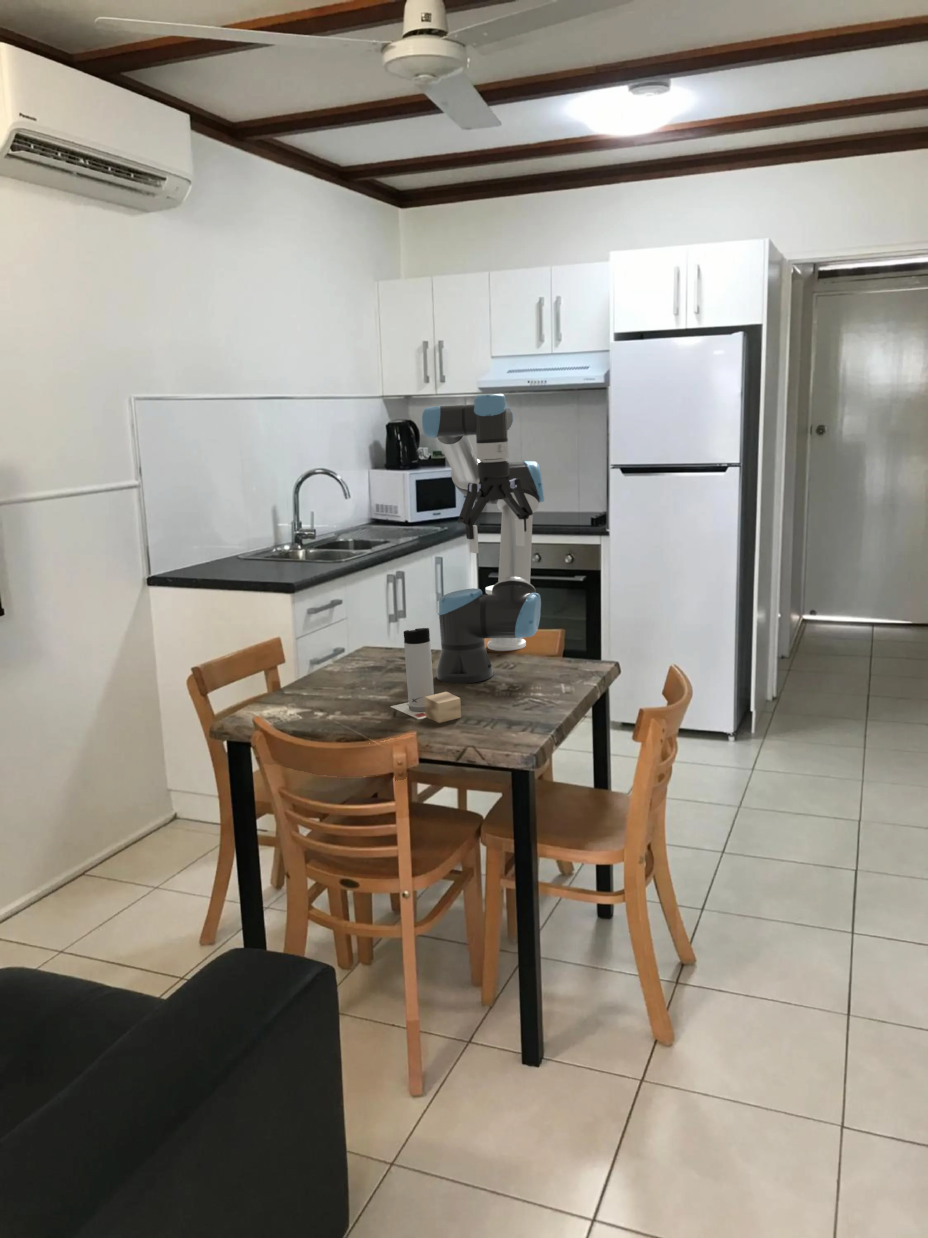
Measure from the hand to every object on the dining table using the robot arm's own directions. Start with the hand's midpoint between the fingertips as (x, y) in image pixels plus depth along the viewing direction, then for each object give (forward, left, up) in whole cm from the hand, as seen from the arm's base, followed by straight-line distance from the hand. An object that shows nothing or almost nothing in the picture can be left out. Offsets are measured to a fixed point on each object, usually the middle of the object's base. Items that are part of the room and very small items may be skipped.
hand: (497, 549), depth 242 cm
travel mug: (-4, -22, -37) cm, 43 cm away
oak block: (+6, -22, -37) cm, 43 cm away
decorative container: (-42, +30, -37) cm, 64 cm away
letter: (-4, -22, -37) cm, 43 cm away
